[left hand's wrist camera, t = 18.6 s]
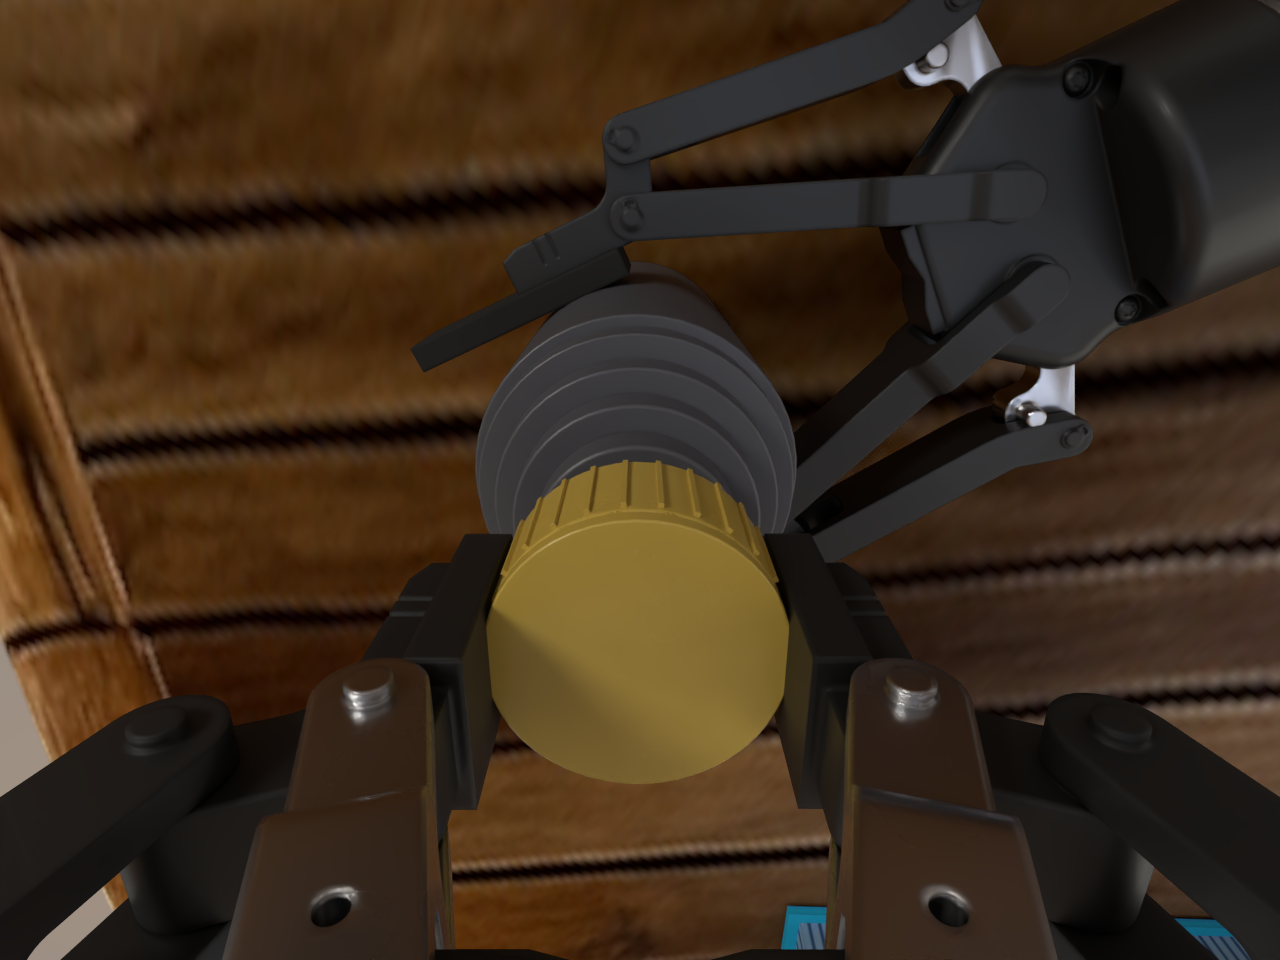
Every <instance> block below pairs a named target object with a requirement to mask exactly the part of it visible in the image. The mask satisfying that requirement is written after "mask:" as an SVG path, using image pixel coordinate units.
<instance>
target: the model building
mask: <svg viewBox="0 0 1280 960" xmlns="http://www.w3.org/2000/svg"><path fill="white" fill-rule="evenodd" d="M826 909H827V907H808V906H787V912H786V919H785V926H784V932H783V939H782V945H781V949H825V930H826ZM1174 919H1175V920H1176V921H1177V922H1179V923H1180V924H1181V925H1182V926H1183V927H1184V928H1185V929H1186V930H1187V931H1188V932H1189V933H1191V934H1192V935H1193V936H1194V937H1195V938H1196V939H1197V940H1198V941H1199V942H1200V943H1202V944H1203V945H1204V946H1205V947H1206V948H1207V949H1208V950H1209V951H1210V952H1211V953H1212V954H1214V955H1215V956H1216V957H1217V958H1218V959H1219V960H1251V959H1250V957H1249V956H1248V954H1247V952H1246V951H1245V950H1244V948H1243V947H1242V946H1241V944H1240V943H1239V942H1238V941H1237V940H1236V939H1235V937H1234V936H1233V935H1232V934H1230V933H1229V932H1228V931H1227V930H1226V929H1225V928H1224V927H1223V926H1222V925H1220V924H1219V923H1218V922H1217V921H1216V920H1208V919H1178V918H1174Z"/></svg>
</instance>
